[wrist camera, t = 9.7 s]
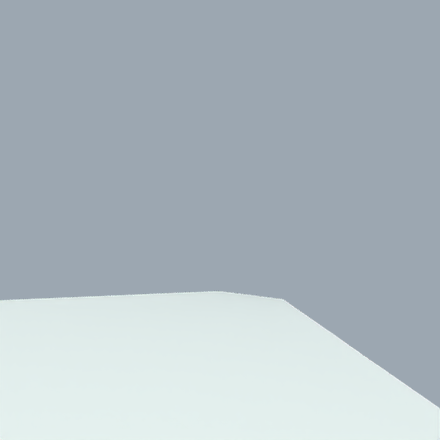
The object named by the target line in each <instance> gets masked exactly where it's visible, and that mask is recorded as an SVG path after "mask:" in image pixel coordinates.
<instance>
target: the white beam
mask: <svg viewBox="0 0 440 440" xmlns="http://www.w3.org/2000/svg"><path fill="white" fill-rule="evenodd" d="M0 440H440V408H439V407H437V406H436V405H434V404H433V403H431V402H430V401H428V400H427V399H426V398H424V397H423V396H421V395H420V394H418V393H417V392H416V391H414V390H413V389H411V388H410V387H408V386H407V385H406V384H404V383H402V382H401V381H400V380H398V379H397V378H395V377H394V376H393V375H391V374H390V373H388V372H387V371H385V370H384V369H383V368H381V367H380V366H378V365H377V364H375V363H374V362H372V361H371V360H370V359H368V358H367V357H365V356H364V355H362V354H361V353H360V352H358V351H357V350H355V349H354V348H352V347H351V346H349V345H348V344H346V343H345V342H344V341H342V340H341V339H339V338H338V337H337V336H335V335H334V334H332V333H331V332H329V331H328V330H327V329H325V328H324V327H322V326H321V325H319V324H318V323H317V322H315V321H313V320H312V319H311V318H309V317H308V316H306V315H305V314H303V313H302V312H301V311H299V310H298V309H296V308H295V307H293V306H292V305H291V304H289V303H288V302H286V301H285V300H283V299H277V298H270V297H261V296H254V295H246V294H238V293H229V292H222V291H211V292H187V293H166V294H165V293H163V294H139V295H118V296H117V295H115V296H92V297H67V298H45V299H21V300H0Z"/></svg>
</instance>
